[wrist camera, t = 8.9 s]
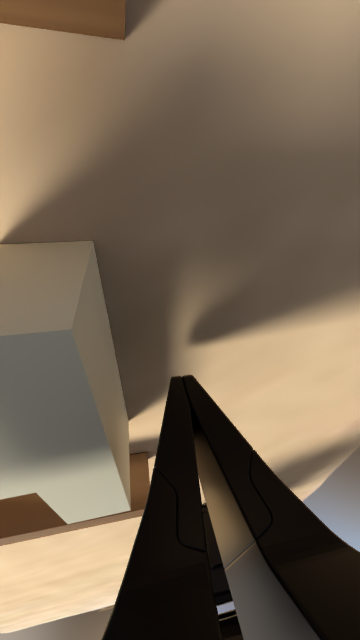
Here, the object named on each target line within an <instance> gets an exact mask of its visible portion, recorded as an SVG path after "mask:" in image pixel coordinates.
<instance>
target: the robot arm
mask: <svg viewBox="0 0 360 640" xmlns="http://www.w3.org/2000/svg"><path fill="white" fill-rule="evenodd" d="M198 475H199V476H198ZM199 479H200V482H201V486H202V490H203V493H204V497H205V500H206V504H207V507H205V508H202V502H201V493H200V485H199ZM232 601H233V602H234V606H235V609H234V610H231V611H228V612H225V613H221V614H218V611H217V607H216V606H219V605H223V604H226V603H230V602H232ZM102 640H360V552H359V551H357V550H355V549H354V548H353V547H351V546H350V545H348V544H347V543H346V542H344V541H343V540H342V539H340V538H339V537H338V536H337V535H336V534H334V533H333V532H332V531H331V530H330V529H329V528H328V527H327V526H326V525H325V524H324V523H323V522H322V521H321V520H320V519H319V518H318V517H317V516H316V515H315V514H314V513H313V512H312V511H311V510H310V509H309V508H308V507H307V506H306V505H305V504H304V503H303V502H302V501H301V500H300V499H299V498H298V497H297V496H296V495H295V494H294V493H293V492H292V491H291V490H290V489H289V488H288V487H287V486H286V485H285V484H284V483H283V482H282V481H281V480H280V479H279V478H278V477H277V476H276V474H275V473H274V472H273V471H272V470H271V469H270V468H269V467H268V465H267V464H266V463H265V462H264V461H263V460H262V458H261V457H260V456H259V455H258V454H257V452H256V451H255V450H253V448H252V446H251V445H250V444H249V443H248V442H247V440H246V439H245V438H244V437H243V436H242V434H241V433H240V432H239V431H238V430H237V428H236V427H235V426H234V425H233V423H232V422H231V421H230V420H229V419H228V417H227V416H226V415H225V414H224V413H223V411H222V410H221V409H220V408H219V407H218V405H217V404H216V403H215V402H214V401H213V399H212V398H211V397H210V396H209V394H208V393H207V392H206V391H205V390H204V388H203V387H202V386H201V385H200V384H199V382H198V381H197V380H196V379H195V378H194V376H193V375H184V376H182V377H181V376H175V377H171V380H170V385H169V390H168V396H167V401H166V406H165V412H164V417H163V422H162V427H161V433H160V438H159V443H158V448H157V454H156V459H155V464H154V469H153V474H152V479H151V484H150V489H149V493H148V498H147V502H146V505H145V509H144V512H143V516H142V519H141V523H140V526H139V529H138V532H137V536H136V539H135V542H134V545H133V549H132V552H131V555H130V558H129V562H128V565H127V568H126V571H125V574H124V578H123V581H122V584H121V587H120V590H119V593H118V596H117V599H116V602H115V605H114V608H113V610H112V613H111V616H110V619H109V621H108V624H107V627H106V629H105V632H104V635H103V637H102Z"/></svg>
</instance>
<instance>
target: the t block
mask: <svg viewBox="0 0 360 640" xmlns="http://www.w3.org/2000/svg"><path fill="white" fill-rule="evenodd" d="M31 493H37V494H38V495H39V496H40V497H41V498H42V499H43V500H44V501H45V502H46V503H47V504H48V505H49V506H50V507H51V508H52V509H53V510H54V511H55V512H56V513H57V514H58V515H59V516H60V517H61V518H62V519H63V520H64V521H65V522H66V523H67V524H71V523H76V522H80V521H85V520H89V519H94V518H98V517H103V516H107V515H112V514H116V513H121V512H125V511H130V510H131V502H130V463H129V424H128V416H127V411H126V406H125V401H124V396H123V391H122V386H121V381H120V376H119V371H118V365H117V360H116V355H115V350H114V345H113V340H112V335H111V330H110V325H109V319H108V314H107V309H106V304H105V299H104V294H103V289H102V284H101V279H100V273H99V268H98V263H97V258H96V253H95V248H94V243H93V241H73V242H47V243H20V244H0V500H1V499H6V498H11V497H16V496H21V495H26V494H31Z"/></svg>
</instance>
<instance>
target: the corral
mask: <svg viewBox="0 0 360 640" xmlns="http://www.w3.org/2000/svg"><path fill="white" fill-rule="evenodd" d="M125 6H126V0H0V23H5V24H12V25H19V26H26V27H34V28H41V29H48V30H55V31H63V32H70V33H77V34H84V35H91V36H99V37H106V38H113V39H120V40H125ZM129 463H130V502H131V510H130V511H125V512H121V513H116V514H112V515H107V516H103V517H98V518H94V519H89V520H85V521H80V522H76V523H71V524H67V523H66V522H65V521H64V520H63V519H62V518H61V517H60V516H59V515H58V514H57V513H56V512H55V511H54V510H53V509H52V508H51V507H50V506H49V505H48V504H47V503H46V502H45V501H44V500H43V499H42V498H41V497H40V496H39V495H38V494H37V493H31V494H26V495H21V496H16V497H11V498H6V499H1V500H0V546H2V545H7V544H12V543H17V542H21V541H26V540H31V539H36V538H40V537H45V536H50V535H55V534H59V533H64V532H69V531H73V530H78V529H83V528H88V527H92V526H97V525H102V524H107V523H111V522H116V521H121V520H126V519H130V518H135V517H140V516H143V512H144V509H145V505H146V502H147V498H148V493H149V489H150V481H149V468H148V454H147V452H146V453H140V454H134V455H129Z"/></svg>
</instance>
